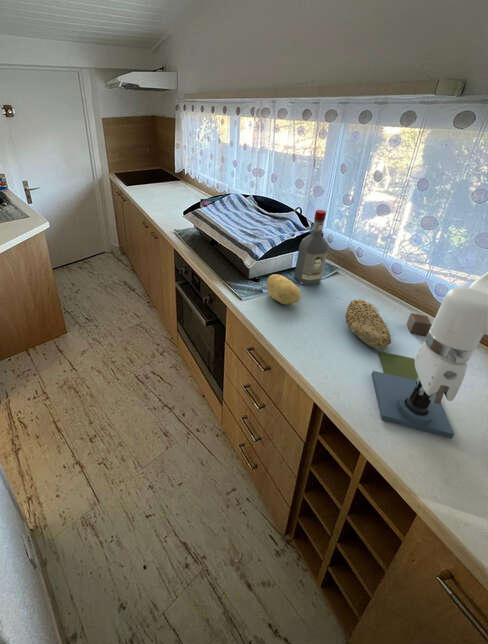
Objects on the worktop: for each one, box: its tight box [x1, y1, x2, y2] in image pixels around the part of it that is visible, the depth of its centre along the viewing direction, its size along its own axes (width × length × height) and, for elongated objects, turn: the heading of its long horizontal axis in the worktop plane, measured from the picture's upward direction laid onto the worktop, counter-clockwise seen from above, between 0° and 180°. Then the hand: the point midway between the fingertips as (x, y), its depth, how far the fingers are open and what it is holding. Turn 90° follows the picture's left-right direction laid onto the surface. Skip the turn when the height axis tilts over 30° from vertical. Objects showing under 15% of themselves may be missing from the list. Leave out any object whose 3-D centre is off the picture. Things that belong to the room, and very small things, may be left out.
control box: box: [371, 370, 456, 439], centre depth 76 cm, size 14×14×4 cm
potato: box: [266, 273, 302, 306], centre depth 113 cm, size 10×14×10 cm
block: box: [406, 312, 433, 337], centre depth 99 cm, size 5×5×5 cm
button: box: [406, 396, 428, 416], centre depth 72 cm, size 4×4×2 cm
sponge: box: [345, 298, 392, 350], centre depth 98 cm, size 13×8×20 cm
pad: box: [378, 350, 418, 381], centre depth 86 cm, size 9×9×1 cm
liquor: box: [293, 209, 329, 287], centre depth 121 cm, size 9×9×30 cm
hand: (418, 402), depth 71 cm, fingers closed
